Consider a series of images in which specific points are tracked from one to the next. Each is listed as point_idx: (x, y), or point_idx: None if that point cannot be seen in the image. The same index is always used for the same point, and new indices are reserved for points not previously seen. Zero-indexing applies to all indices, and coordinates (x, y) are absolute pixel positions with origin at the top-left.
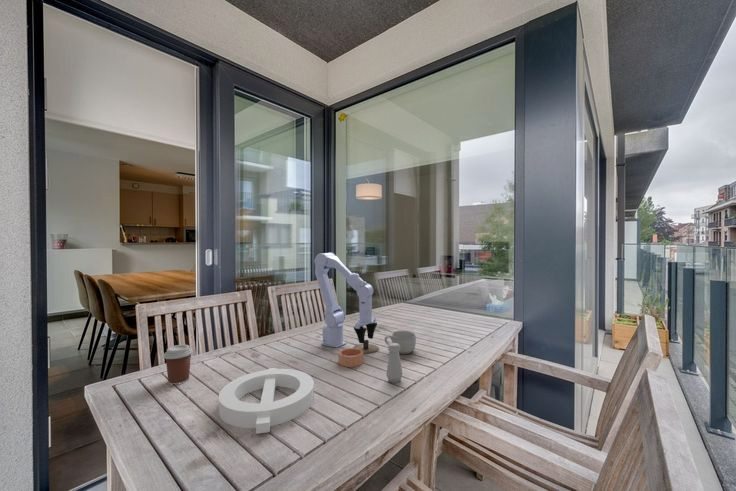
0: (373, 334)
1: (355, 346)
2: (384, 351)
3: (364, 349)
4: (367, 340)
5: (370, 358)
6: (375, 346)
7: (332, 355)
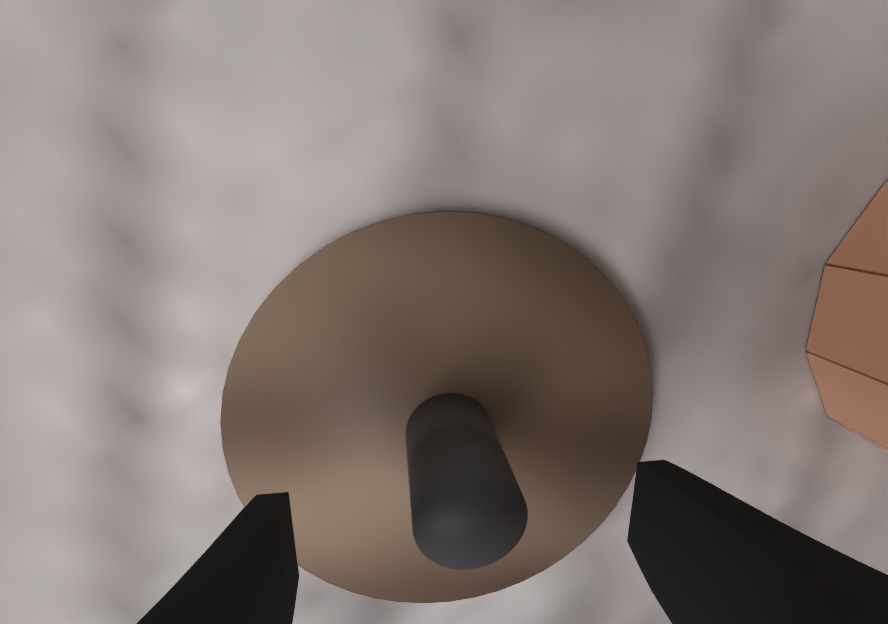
0: (204, 557)
1: (466, 584)
2: (375, 87)
3: (510, 416)
4: (448, 499)
5: (773, 136)
6: (285, 351)
7: None
